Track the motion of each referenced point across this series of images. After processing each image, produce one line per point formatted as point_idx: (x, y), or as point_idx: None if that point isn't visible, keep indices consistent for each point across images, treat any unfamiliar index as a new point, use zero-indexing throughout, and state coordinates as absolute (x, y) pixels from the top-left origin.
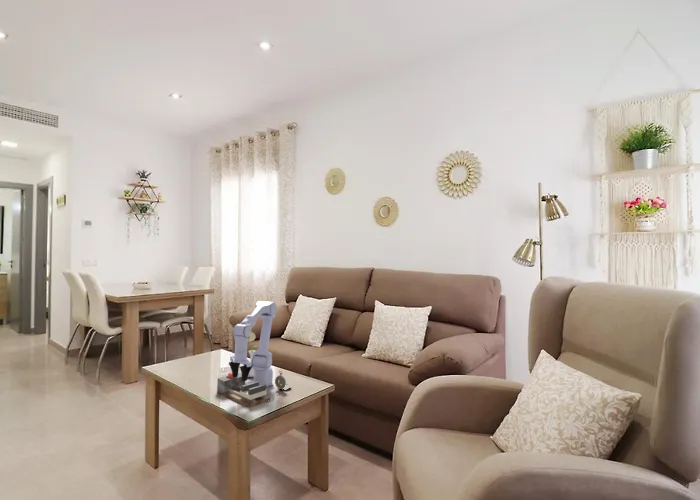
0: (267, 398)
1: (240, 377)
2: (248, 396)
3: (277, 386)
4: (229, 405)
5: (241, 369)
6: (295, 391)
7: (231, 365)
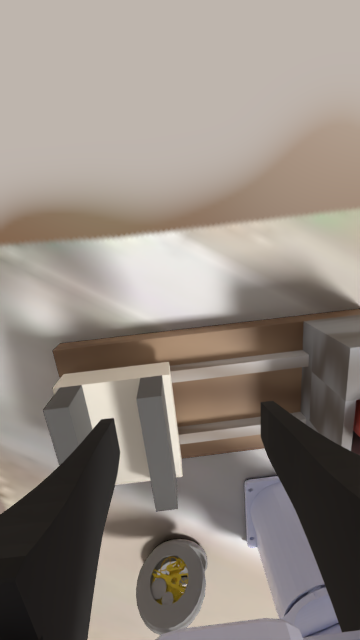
0: None
1: None
2: (80, 379)
3: (181, 548)
4: (149, 278)
5: (11, 532)
6: (119, 570)
7: (352, 493)
